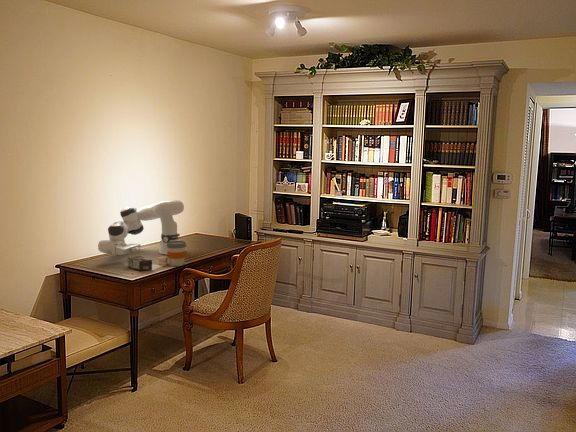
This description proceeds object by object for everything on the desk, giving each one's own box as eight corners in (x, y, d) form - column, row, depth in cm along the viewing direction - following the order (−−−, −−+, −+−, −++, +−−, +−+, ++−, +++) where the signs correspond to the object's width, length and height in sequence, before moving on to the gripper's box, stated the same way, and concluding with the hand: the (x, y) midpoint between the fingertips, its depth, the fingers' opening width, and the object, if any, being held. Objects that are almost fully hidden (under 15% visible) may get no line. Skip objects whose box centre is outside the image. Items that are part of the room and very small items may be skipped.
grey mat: (144, 264, 351) (144, 263, 351) (163, 265, 347) (163, 265, 347) (132, 268, 338) (132, 268, 338) (152, 270, 334) (152, 270, 334)
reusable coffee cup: (189, 265, 350) (188, 243, 348) (171, 267, 343) (170, 244, 341) (182, 261, 361) (181, 240, 359) (164, 263, 354) (164, 241, 352)
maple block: (160, 263, 354) (160, 256, 353) (167, 263, 354) (167, 256, 353) (158, 265, 349) (158, 258, 348) (165, 265, 349) (165, 258, 348)
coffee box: (127, 266, 340) (138, 271, 329) (127, 256, 340) (139, 261, 328) (140, 265, 347) (152, 269, 335) (140, 255, 346) (152, 259, 334)
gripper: (129, 249, 357) (147, 251, 353) (111, 255, 337) (130, 257, 334) (129, 240, 356) (147, 242, 352) (111, 245, 336) (130, 247, 333)
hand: (139, 249), depth 343 cm, fingers closed
